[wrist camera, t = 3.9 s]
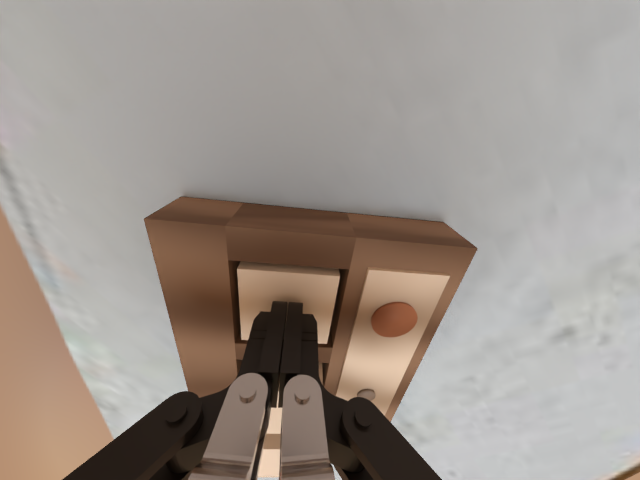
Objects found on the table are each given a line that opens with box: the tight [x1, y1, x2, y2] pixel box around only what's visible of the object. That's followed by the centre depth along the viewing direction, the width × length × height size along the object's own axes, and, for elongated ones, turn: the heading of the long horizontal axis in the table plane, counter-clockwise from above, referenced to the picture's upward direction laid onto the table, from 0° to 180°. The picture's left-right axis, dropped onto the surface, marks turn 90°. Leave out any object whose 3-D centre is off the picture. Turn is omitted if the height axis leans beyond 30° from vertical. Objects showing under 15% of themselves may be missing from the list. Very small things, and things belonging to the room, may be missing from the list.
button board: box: [144, 197, 478, 422], centre depth 16 cm, size 23×14×3 cm, turn 173°
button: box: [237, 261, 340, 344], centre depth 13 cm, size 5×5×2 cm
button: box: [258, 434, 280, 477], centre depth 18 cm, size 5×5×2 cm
